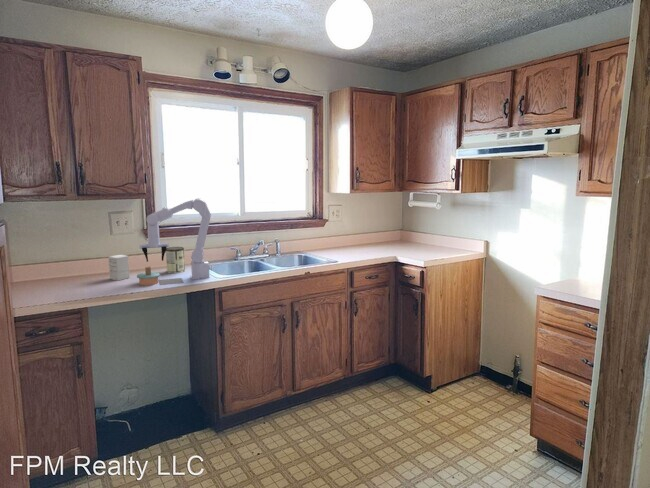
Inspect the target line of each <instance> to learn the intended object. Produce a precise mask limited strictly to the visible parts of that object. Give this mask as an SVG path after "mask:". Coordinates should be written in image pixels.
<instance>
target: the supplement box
mask: <svg viewBox="0 0 650 488" xmlns="http://www.w3.org/2000/svg"><path fill="white" fill-rule="evenodd" d="M107 259H108V267H109V268H108V269H109V280H114V281H121V280H122V281H123V280H126V279H127V280H128V279H129V278H130V266H129V265H130V264H129V255H125V254H116V255H110V256H108V258H107Z"/></svg>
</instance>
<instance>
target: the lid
mask: <svg viewBox="0 0 650 488" xmlns="http://www.w3.org/2000/svg"><path fill="white" fill-rule="evenodd" d="M144 269H145V272H142V273H138V274H137V275H136V278H137V279H139V278H141V279H149V278H155V277H158V278H159V277H160V275H161V274H160V273H159V272H155V271H154V272H151V271H152V270H151V266H145V268H144Z"/></svg>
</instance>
